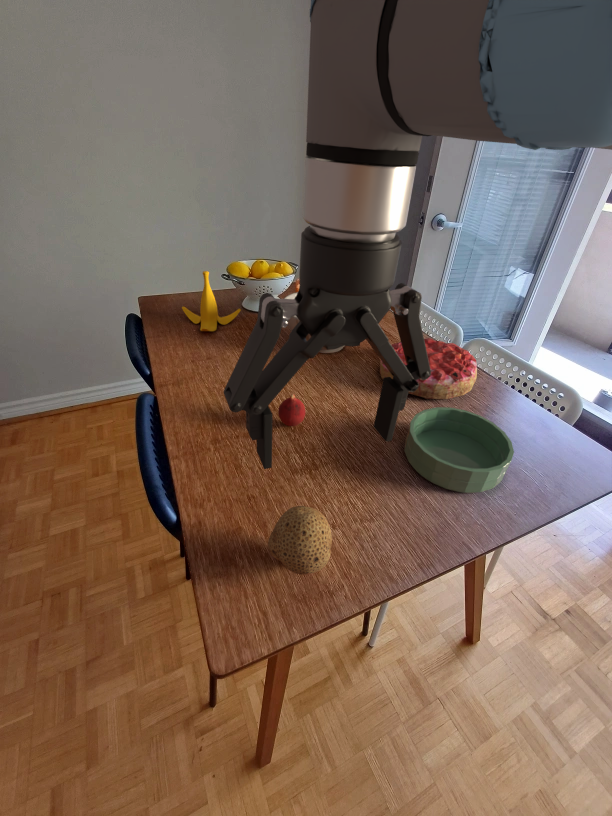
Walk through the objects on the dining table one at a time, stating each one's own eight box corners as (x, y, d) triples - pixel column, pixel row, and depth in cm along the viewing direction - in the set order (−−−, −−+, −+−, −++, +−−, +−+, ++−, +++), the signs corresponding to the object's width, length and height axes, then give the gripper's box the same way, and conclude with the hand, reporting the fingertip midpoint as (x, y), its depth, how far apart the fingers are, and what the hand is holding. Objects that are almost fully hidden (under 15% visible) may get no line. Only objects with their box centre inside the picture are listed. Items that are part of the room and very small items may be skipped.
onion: (308, 430, 86) (311, 399, 82) (284, 436, 84) (285, 405, 80) (297, 415, 91) (299, 385, 86) (274, 421, 88) (274, 390, 84)
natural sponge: (341, 571, 59) (350, 529, 54) (290, 601, 55) (293, 558, 49) (309, 528, 65) (313, 485, 60) (260, 551, 61) (260, 508, 56)
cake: (495, 386, 104) (503, 358, 100) (425, 414, 94) (431, 385, 89) (426, 351, 122) (431, 326, 118) (361, 371, 112) (363, 345, 107)
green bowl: (524, 480, 78) (536, 458, 74) (442, 505, 71) (451, 482, 68) (459, 422, 92) (466, 400, 89) (386, 438, 86) (391, 416, 82)
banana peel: (183, 315, 132) (177, 264, 122) (241, 317, 133) (239, 266, 123) (172, 337, 118) (164, 281, 108) (237, 339, 120) (234, 284, 110)
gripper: (455, 217, 36) (407, 406, 49) (171, 220, 28) (199, 446, 40) (517, 236, 31) (445, 444, 43) (186, 247, 22) (213, 500, 35)
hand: (326, 446), depth 42 cm, fingers open, 13 cm apart
